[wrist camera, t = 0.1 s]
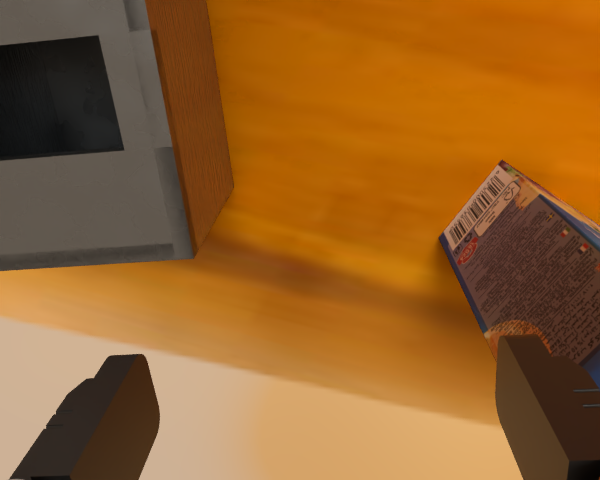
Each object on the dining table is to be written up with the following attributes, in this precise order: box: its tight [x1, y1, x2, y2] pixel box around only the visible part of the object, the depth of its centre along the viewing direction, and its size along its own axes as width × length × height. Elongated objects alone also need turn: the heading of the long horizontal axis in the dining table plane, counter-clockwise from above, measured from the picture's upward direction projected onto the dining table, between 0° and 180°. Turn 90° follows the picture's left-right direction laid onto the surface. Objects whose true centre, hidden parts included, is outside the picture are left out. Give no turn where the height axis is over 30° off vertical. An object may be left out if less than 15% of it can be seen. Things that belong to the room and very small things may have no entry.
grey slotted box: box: [0, 0, 234, 271], centre depth 32 cm, size 18×13×13 cm
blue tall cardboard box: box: [439, 160, 600, 391], centre depth 31 cm, size 12×8×24 cm, turn 58°
